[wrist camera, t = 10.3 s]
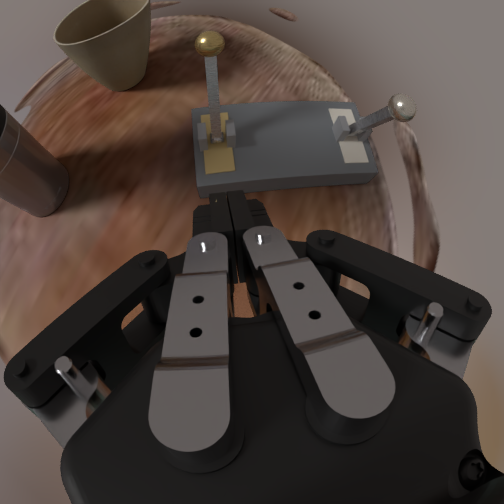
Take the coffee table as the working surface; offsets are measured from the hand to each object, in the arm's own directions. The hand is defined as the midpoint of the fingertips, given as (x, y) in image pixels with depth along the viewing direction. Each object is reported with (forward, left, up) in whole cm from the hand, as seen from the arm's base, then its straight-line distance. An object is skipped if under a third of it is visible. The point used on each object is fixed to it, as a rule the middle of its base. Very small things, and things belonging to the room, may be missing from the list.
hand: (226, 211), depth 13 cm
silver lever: (+2, +24, -19) cm, 31 cm away
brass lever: (-11, +12, -19) cm, 25 cm away
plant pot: (-36, +15, -25) cm, 46 cm away
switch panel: (-5, +18, -24) cm, 31 cm away
